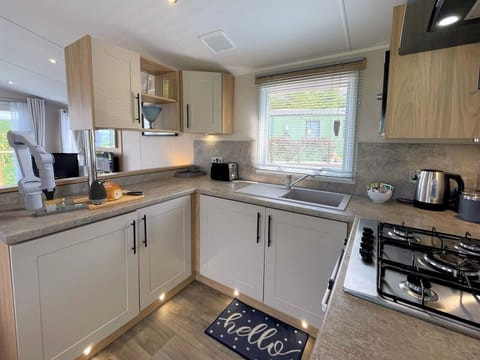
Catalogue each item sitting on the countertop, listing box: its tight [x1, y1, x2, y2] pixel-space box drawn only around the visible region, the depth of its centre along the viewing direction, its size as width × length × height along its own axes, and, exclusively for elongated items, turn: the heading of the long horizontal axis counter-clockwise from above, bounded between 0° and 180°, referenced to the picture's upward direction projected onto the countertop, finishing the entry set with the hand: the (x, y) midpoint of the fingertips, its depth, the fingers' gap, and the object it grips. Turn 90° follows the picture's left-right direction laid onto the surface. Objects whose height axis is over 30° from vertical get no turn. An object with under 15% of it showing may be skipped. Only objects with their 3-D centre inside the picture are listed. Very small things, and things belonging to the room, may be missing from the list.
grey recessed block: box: [35, 201, 90, 218], centre depth 126 cm, size 9×22×6 cm, turn 135°
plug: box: [45, 203, 57, 212], centre depth 123 cm, size 4×4×5 cm
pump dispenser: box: [87, 179, 108, 205], centre depth 144 cm, size 10×10×15 cm
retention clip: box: [42, 197, 66, 206], centre depth 123 cm, size 2×9×2 cm, turn 143°
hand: (50, 202), depth 122 cm, fingers closed, pressing on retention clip
